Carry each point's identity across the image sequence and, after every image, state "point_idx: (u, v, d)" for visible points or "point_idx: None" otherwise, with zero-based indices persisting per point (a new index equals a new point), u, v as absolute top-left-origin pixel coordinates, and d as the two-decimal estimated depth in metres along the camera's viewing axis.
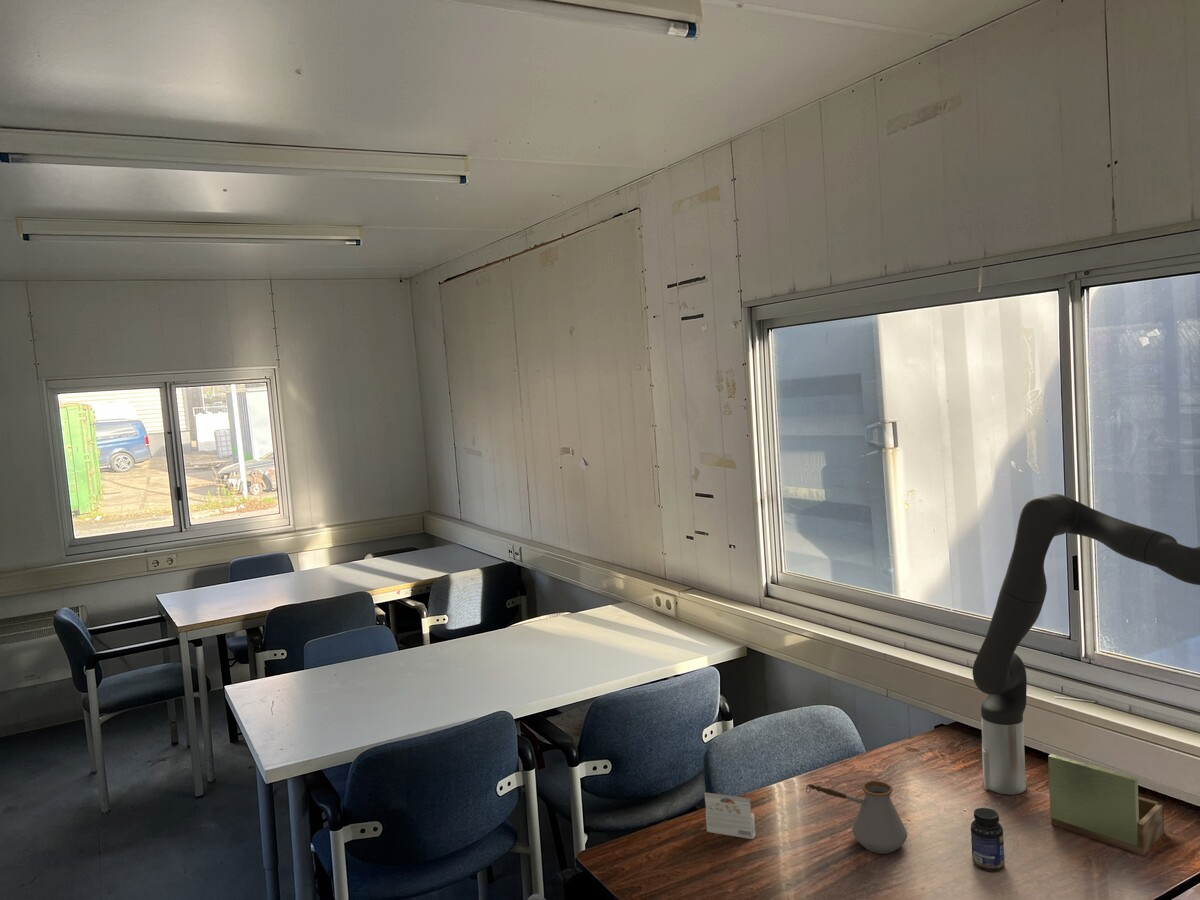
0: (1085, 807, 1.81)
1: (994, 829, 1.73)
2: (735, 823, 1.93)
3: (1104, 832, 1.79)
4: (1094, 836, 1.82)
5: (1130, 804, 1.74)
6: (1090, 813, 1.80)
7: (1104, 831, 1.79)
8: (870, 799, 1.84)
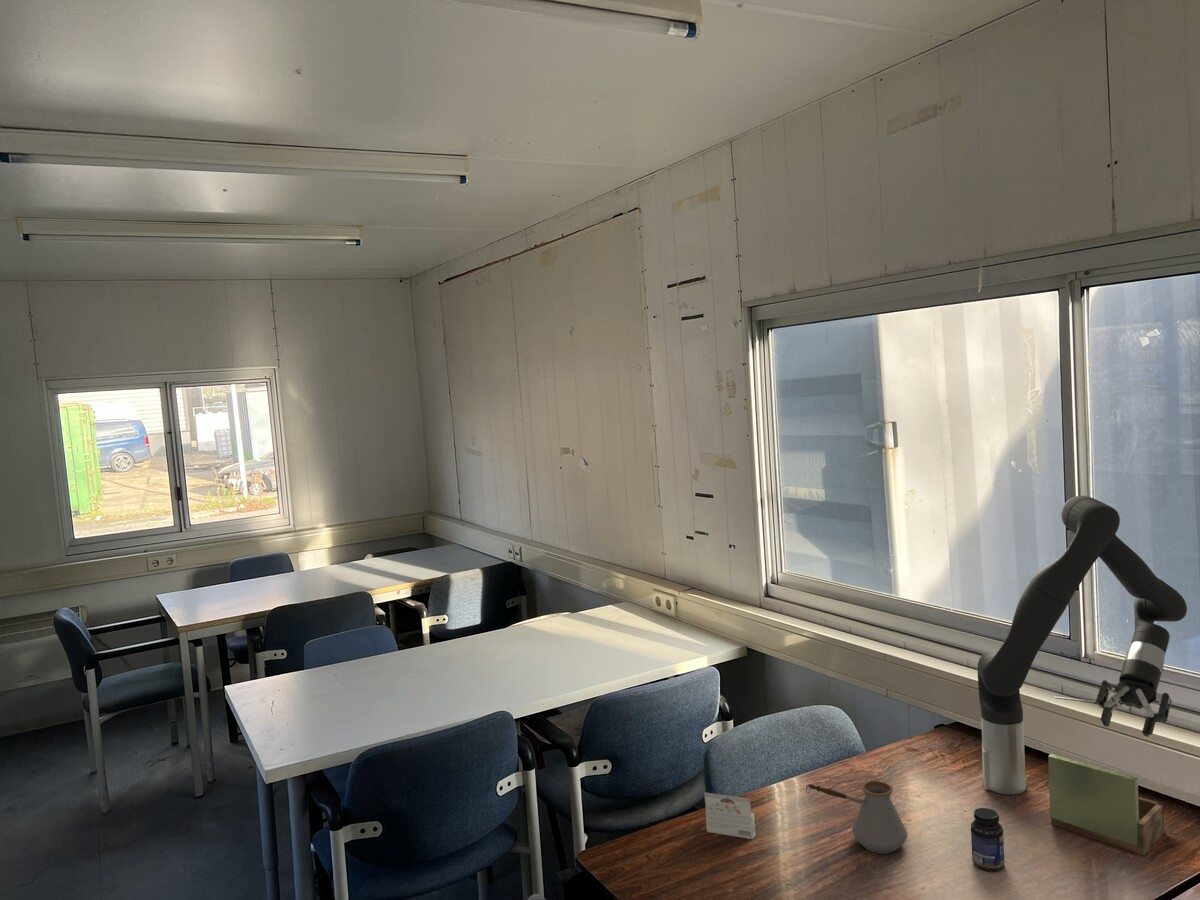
0: (1085, 807, 1.81)
1: (994, 829, 1.73)
2: (735, 823, 1.93)
3: (1104, 832, 1.79)
4: (1094, 836, 1.82)
5: (1130, 804, 1.74)
6: (1090, 813, 1.80)
7: (1104, 831, 1.79)
8: (870, 799, 1.84)
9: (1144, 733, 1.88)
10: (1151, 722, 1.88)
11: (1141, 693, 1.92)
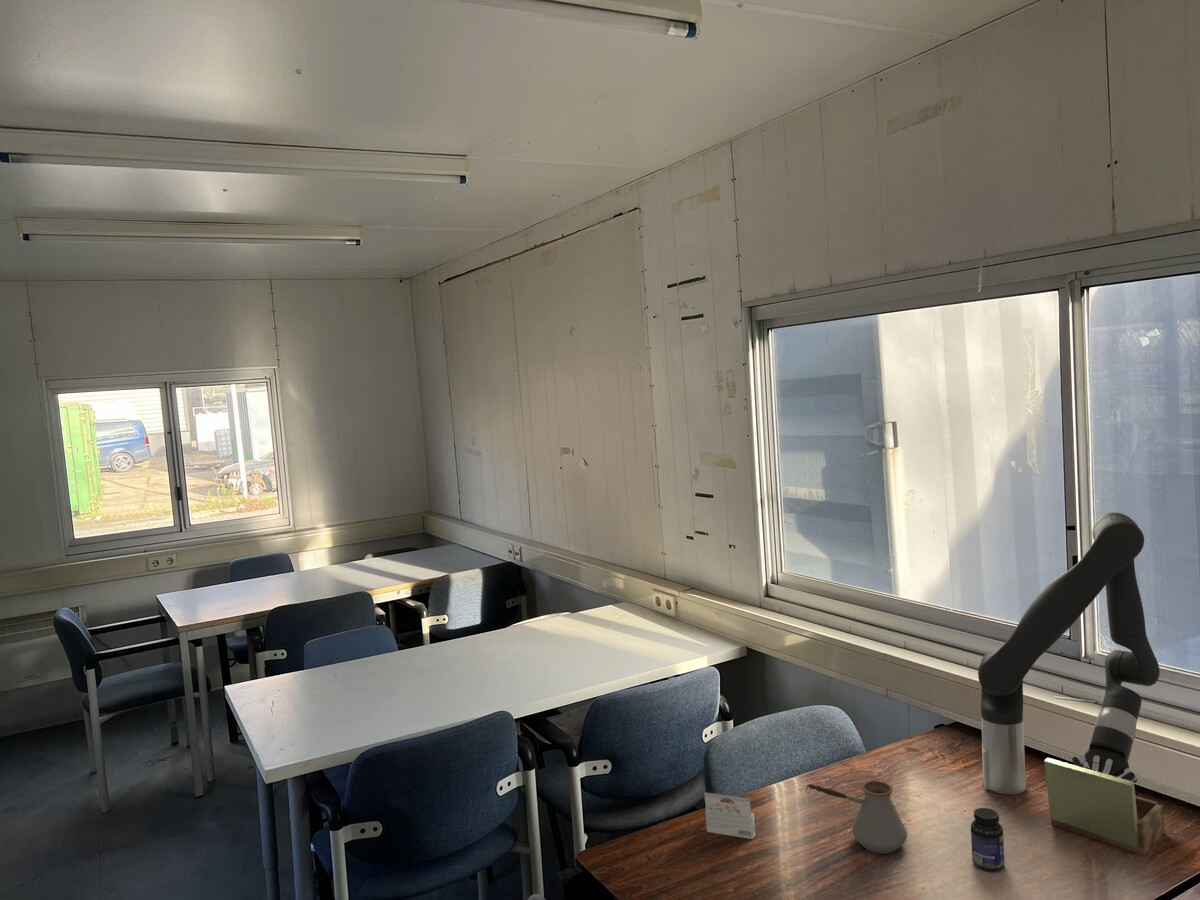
0: (1084, 809, 1.81)
1: (994, 829, 1.73)
2: (735, 823, 1.93)
3: (1104, 833, 1.79)
4: (1094, 836, 1.82)
5: (1128, 808, 1.73)
6: (1089, 816, 1.80)
7: (1103, 832, 1.79)
8: (870, 799, 1.84)
9: None
10: None
11: (1109, 764, 1.83)
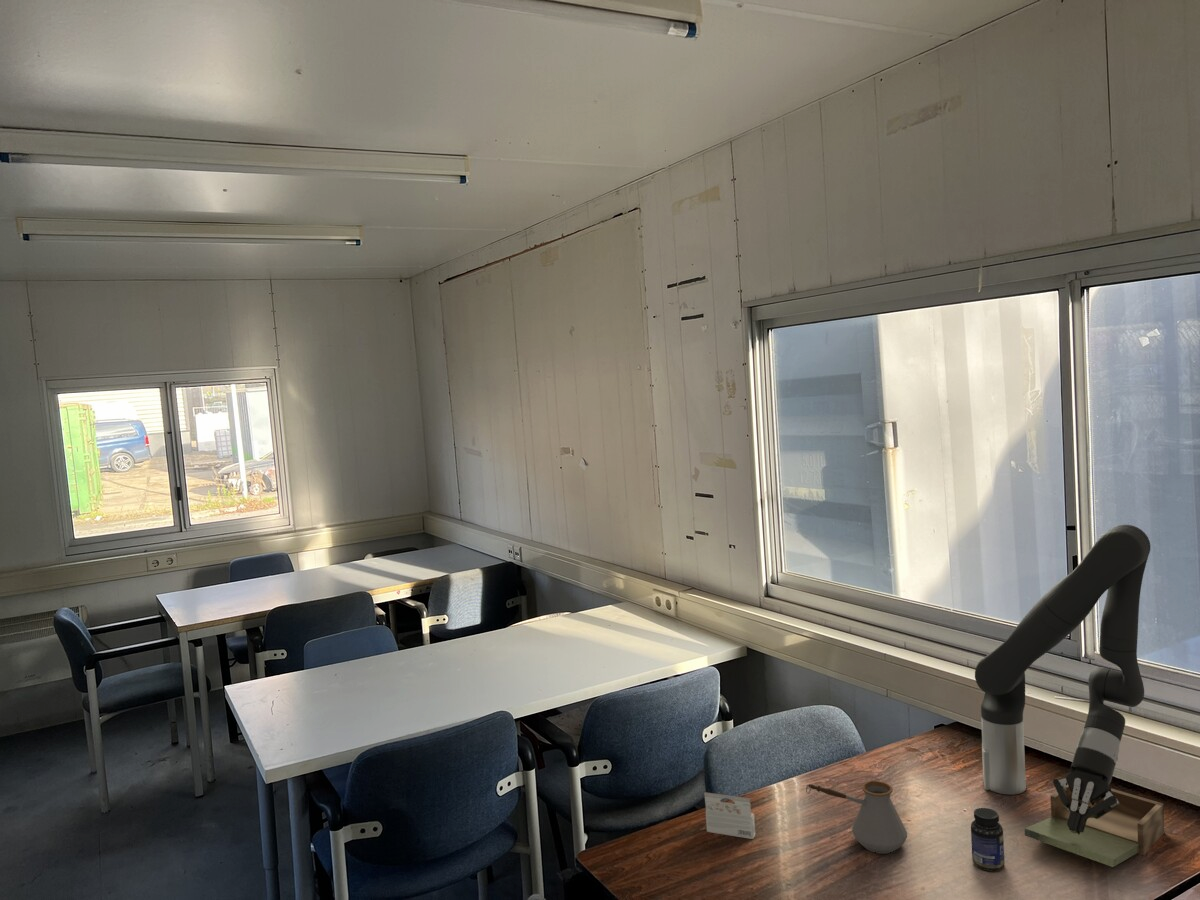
0: None
1: (994, 829, 1.73)
2: (735, 823, 1.93)
3: None
4: None
5: None
6: None
7: None
8: (870, 799, 1.84)
9: (1075, 831, 1.74)
10: (1082, 819, 1.75)
11: (1091, 788, 1.76)
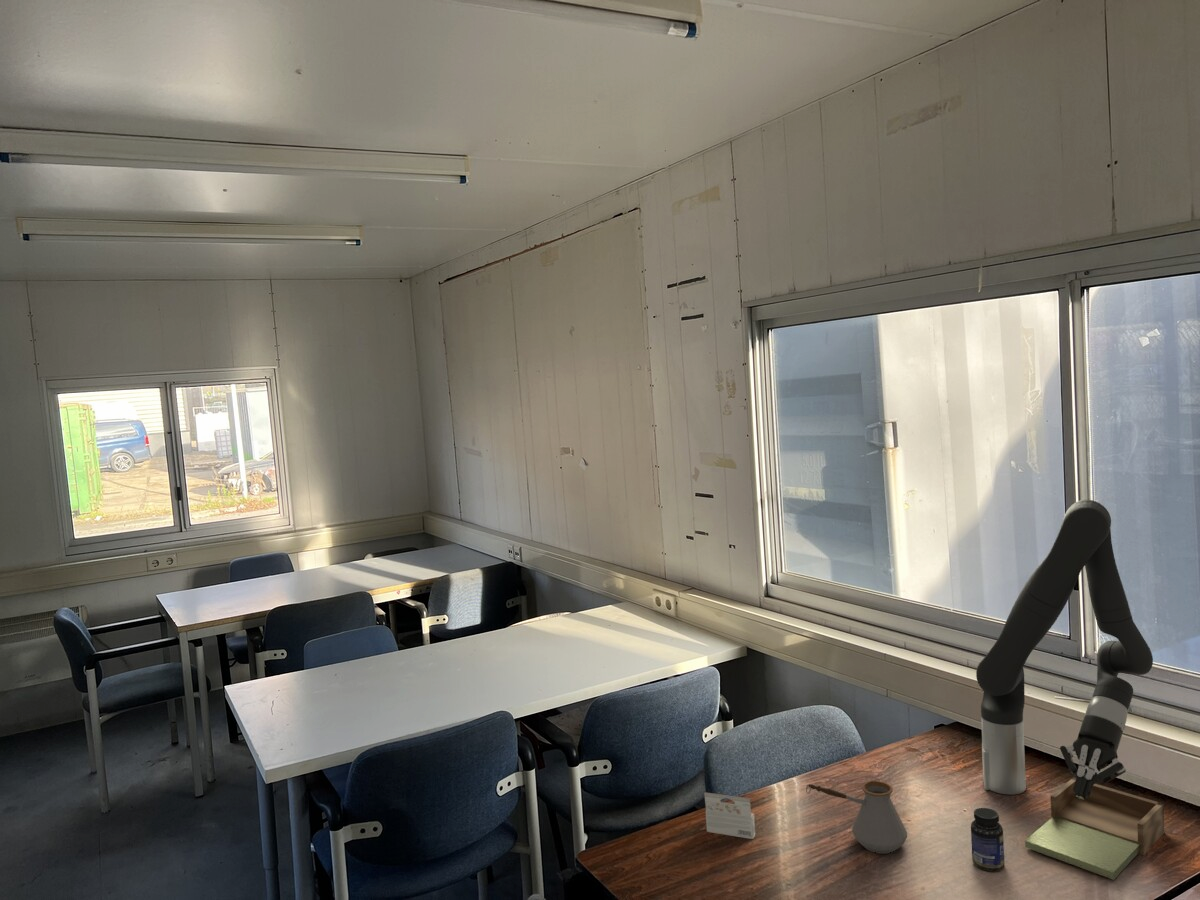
0: None
1: (994, 829, 1.73)
2: (735, 823, 1.93)
3: None
4: None
5: None
6: None
7: None
8: (870, 799, 1.84)
9: (1080, 796, 1.77)
10: (1088, 784, 1.77)
11: (1097, 754, 1.79)
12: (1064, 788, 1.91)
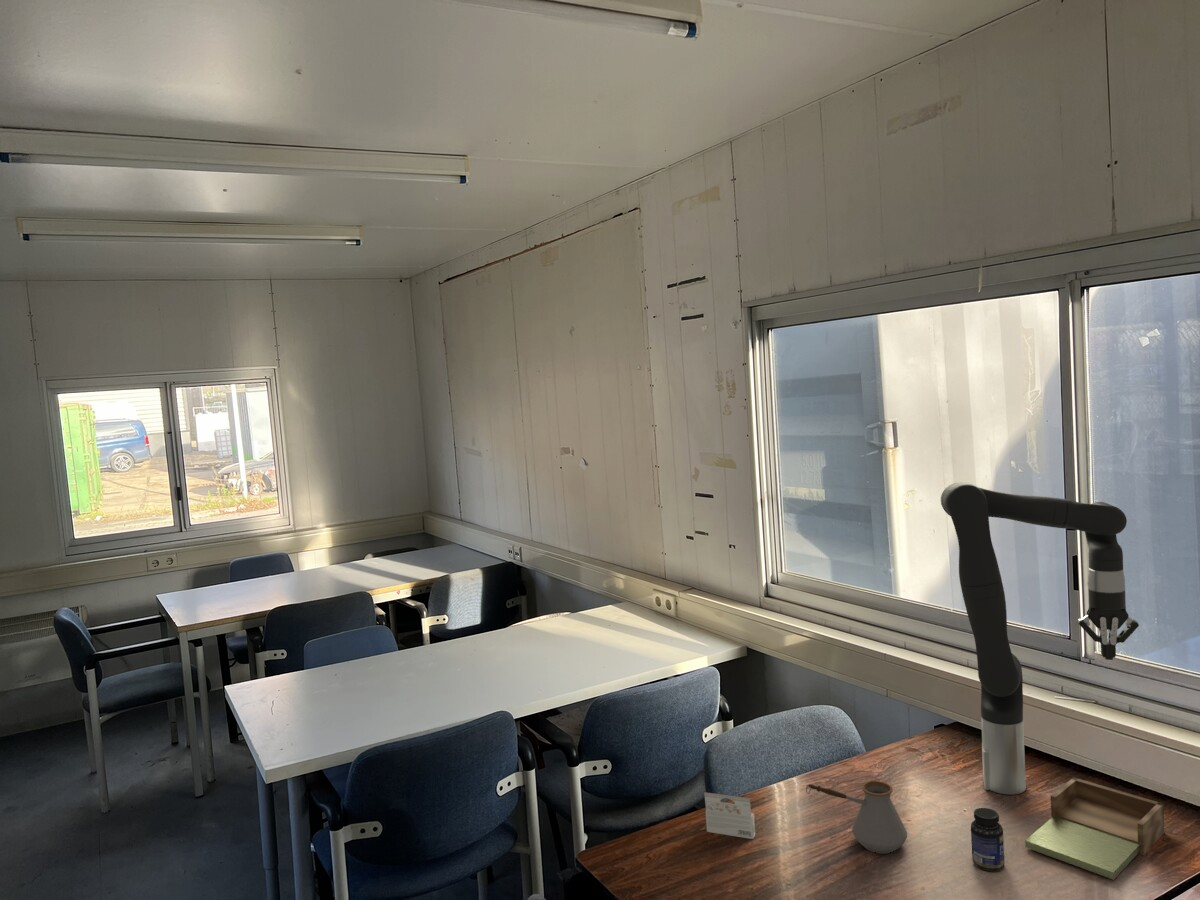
0: None
1: (994, 829, 1.73)
2: (735, 823, 1.93)
3: None
4: None
5: None
6: None
7: None
8: (870, 799, 1.84)
9: None
10: (1114, 648, 2.01)
11: (1116, 622, 1.99)
12: (1064, 788, 1.91)
